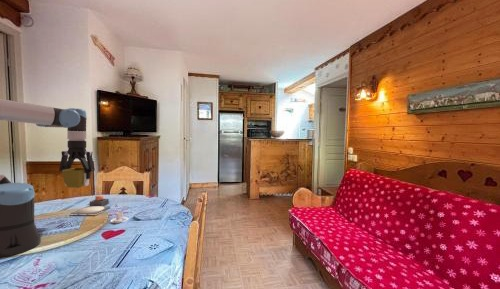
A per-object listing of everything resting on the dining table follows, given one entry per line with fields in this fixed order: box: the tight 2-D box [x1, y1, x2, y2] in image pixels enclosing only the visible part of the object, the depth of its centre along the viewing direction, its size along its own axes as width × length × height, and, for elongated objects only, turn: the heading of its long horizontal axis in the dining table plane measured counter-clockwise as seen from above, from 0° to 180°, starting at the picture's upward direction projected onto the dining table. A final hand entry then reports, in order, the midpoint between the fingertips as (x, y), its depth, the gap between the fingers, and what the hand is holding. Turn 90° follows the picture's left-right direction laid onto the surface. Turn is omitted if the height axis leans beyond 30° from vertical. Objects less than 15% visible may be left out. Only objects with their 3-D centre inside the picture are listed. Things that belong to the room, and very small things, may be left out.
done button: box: [94, 194, 104, 201], centre depth 140 cm, size 4×4×3 cm
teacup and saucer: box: [110, 211, 129, 224], centre depth 116 cm, size 9×8×4 cm
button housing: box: [89, 198, 109, 206], centre depth 140 cm, size 7×7×3 cm
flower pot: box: [61, 167, 85, 189], centre depth 116 cm, size 9×9×9 cm
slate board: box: [70, 205, 111, 215], centre depth 129 cm, size 13×13×1 cm
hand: (77, 185), depth 116 cm, fingers closed on flower pot, 8 cm apart
